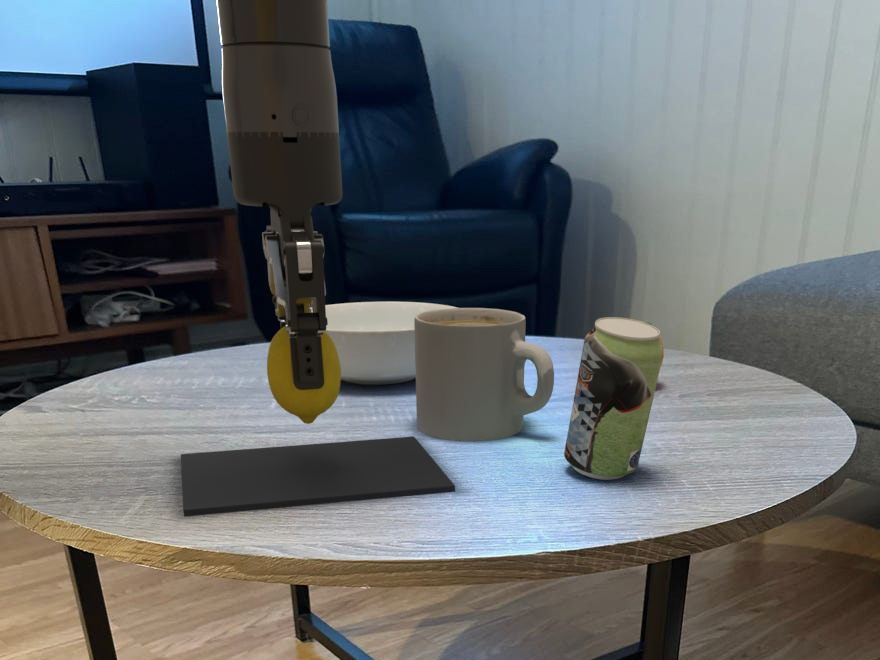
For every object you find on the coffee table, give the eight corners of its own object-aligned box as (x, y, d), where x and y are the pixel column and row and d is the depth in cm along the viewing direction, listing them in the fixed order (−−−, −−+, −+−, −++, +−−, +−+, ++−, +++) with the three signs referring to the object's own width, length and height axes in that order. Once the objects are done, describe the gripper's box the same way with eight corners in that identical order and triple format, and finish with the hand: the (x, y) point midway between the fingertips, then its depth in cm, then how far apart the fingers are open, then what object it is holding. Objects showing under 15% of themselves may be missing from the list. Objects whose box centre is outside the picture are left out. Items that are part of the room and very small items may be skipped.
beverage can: (586, 457, 80) (595, 310, 74) (665, 473, 76) (681, 319, 71) (547, 475, 75) (554, 320, 70) (629, 493, 72) (643, 331, 66)
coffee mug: (395, 427, 88) (391, 316, 83) (469, 408, 94) (469, 304, 89) (499, 457, 80) (501, 336, 75) (572, 434, 86) (578, 321, 81)
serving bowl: (436, 353, 119) (435, 296, 115) (496, 390, 101) (497, 323, 98) (271, 364, 112) (265, 304, 109) (305, 405, 95) (300, 335, 92)
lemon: (345, 431, 71) (338, 322, 67) (271, 434, 70) (260, 324, 67) (342, 413, 76) (336, 310, 72) (273, 416, 75) (263, 312, 71)
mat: (184, 517, 67) (183, 510, 66) (181, 460, 78) (180, 453, 78) (455, 492, 72) (455, 485, 71) (414, 442, 84) (414, 436, 83)
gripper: (220, 127, 69) (247, 363, 77) (232, 125, 56) (262, 405, 64) (323, 128, 71) (338, 358, 78) (356, 126, 58) (369, 398, 66)
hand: (303, 378), depth 71 cm, fingers closed on lemon, 5 cm apart
